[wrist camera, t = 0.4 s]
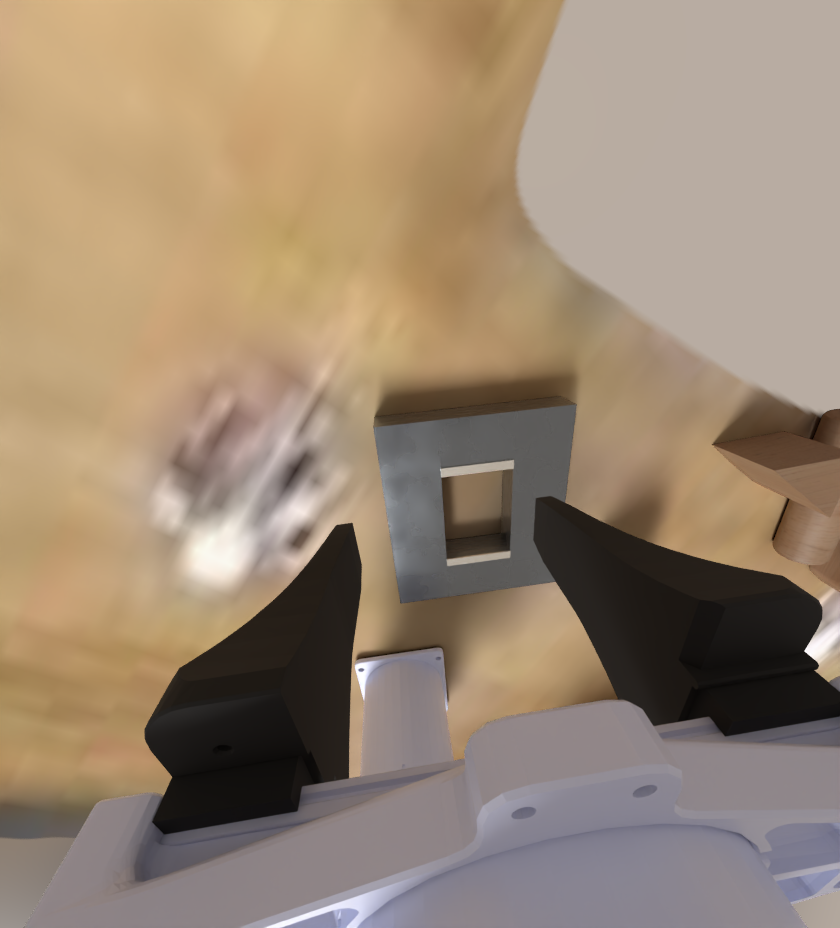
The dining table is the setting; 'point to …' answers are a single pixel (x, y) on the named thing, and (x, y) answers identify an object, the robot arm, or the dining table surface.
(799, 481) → the wooden block set
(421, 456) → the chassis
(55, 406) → the dining table surface
